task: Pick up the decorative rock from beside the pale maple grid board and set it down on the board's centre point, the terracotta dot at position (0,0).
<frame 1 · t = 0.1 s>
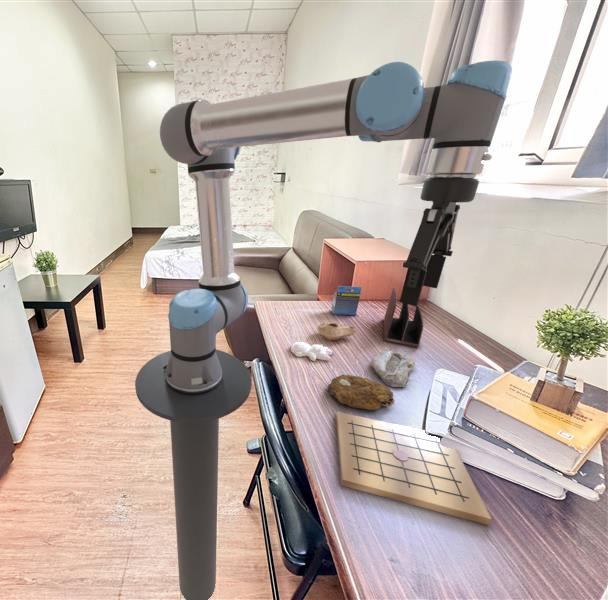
hand: (419, 294, 60), 31 cm above the table, tool pointing down, fingers open, 13 cm apart
astronaut figurine: (310, 353, 97), on the table
decorative rock: (359, 398, 78), on the table
fossil: (394, 371, 89), on the table
pottery oil lamp: (335, 338, 106), on the table
letter holder: (399, 332, 111), on the table
grid board: (398, 461, 61), on the table
label tape box: (343, 313, 125), on the table
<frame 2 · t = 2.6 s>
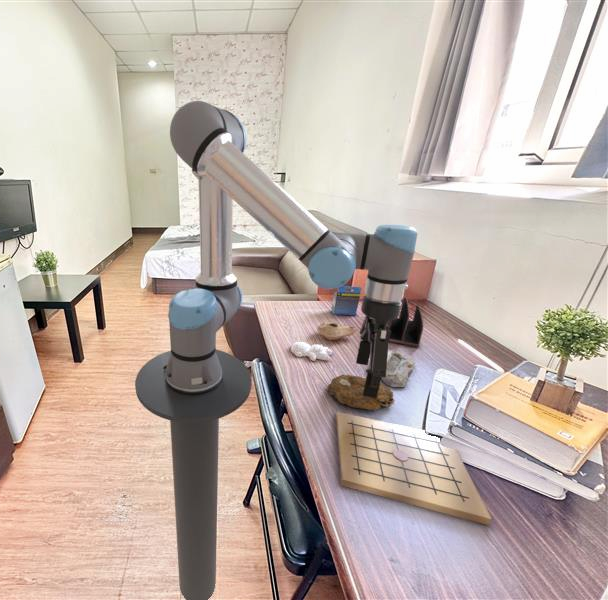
hand: (365, 378, 75), 6 cm above the table, tool pointing down, fingers open, 13 cm apart
nothing on the table moved.
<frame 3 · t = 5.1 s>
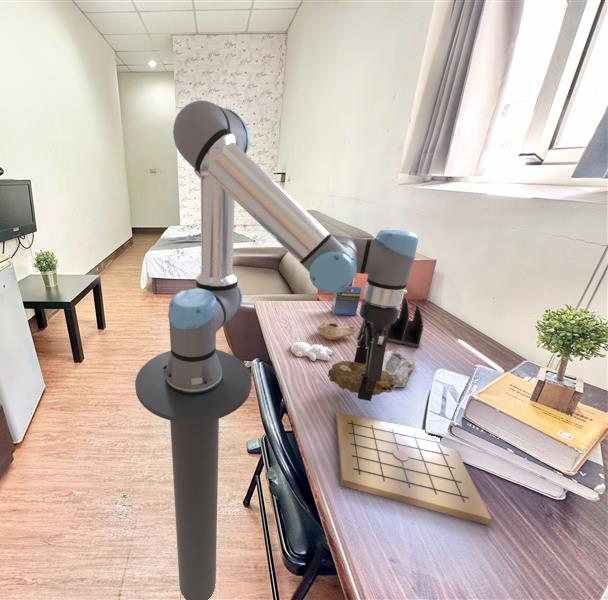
hand: (360, 383, 76), 4 cm above the table, tool pointing down, fingers closed on decorative rock, 11 cm apart
decorative rock: (359, 384, 77), point 4 cm above the table, touching gripper
everything else where it was.
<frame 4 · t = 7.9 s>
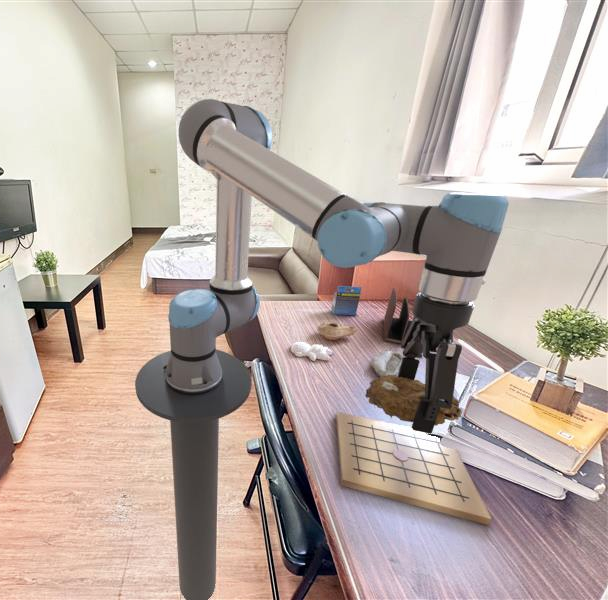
hand: (411, 406, 57), 12 cm above the table, tool pointing down, fingers closed on decorative rock, 11 cm apart
decorative rock: (409, 407, 57), point 12 cm above the table, touching gripper
everything else where it was.
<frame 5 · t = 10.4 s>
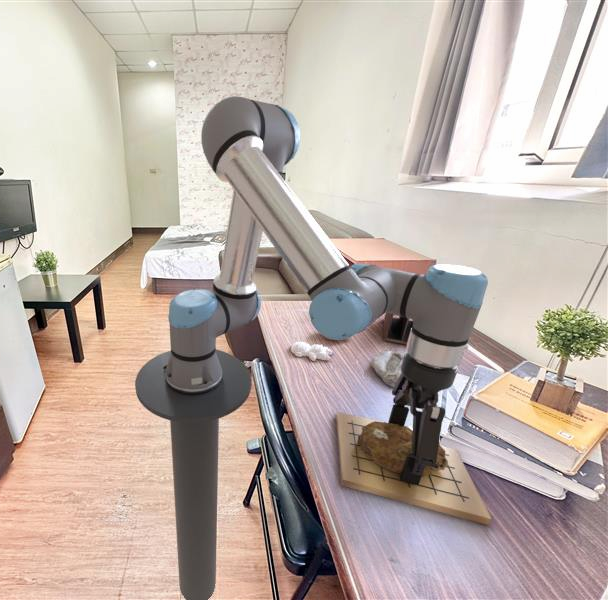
hand: (400, 454, 60), 2 cm above the table, tool pointing down, fingers closed on decorative rock, 11 cm apart
decorative rock: (399, 455, 60), point 1 cm above the table, touching grid board, gripper
everything else where it was.
when the fingers open (2 cm above the table, at t = 10.8 s): decorative rock stays where it is, resting on grid board.
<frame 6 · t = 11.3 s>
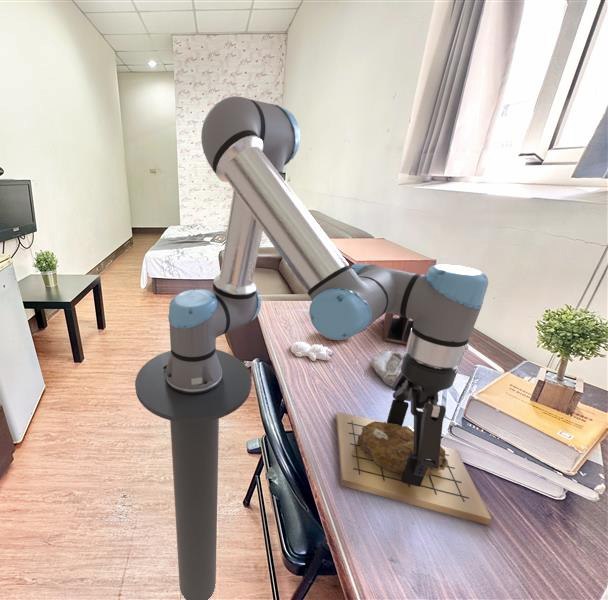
hand: (401, 452, 60), 2 cm above the table, tool pointing down, fingers open, 13 cm apart
decorative rock: (399, 455, 60), point 1 cm above the table, touching grid board
everything else where it was.
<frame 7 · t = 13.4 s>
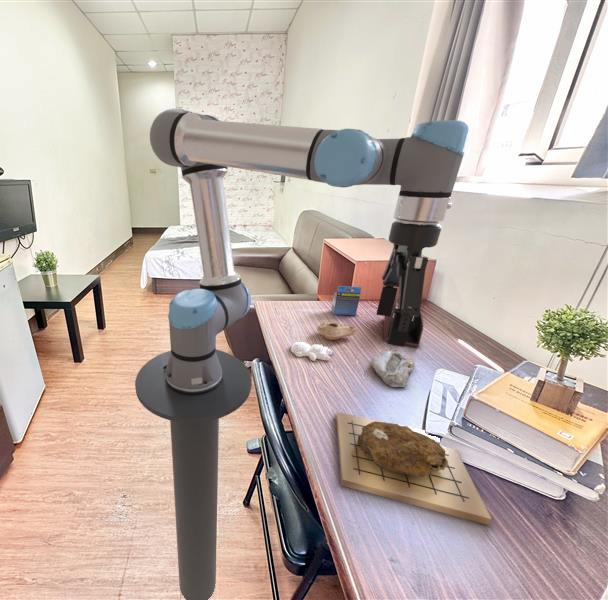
hand: (388, 328, 63), 23 cm above the table, tool pointing down, fingers open, 13 cm apart
nothing on the table moved.
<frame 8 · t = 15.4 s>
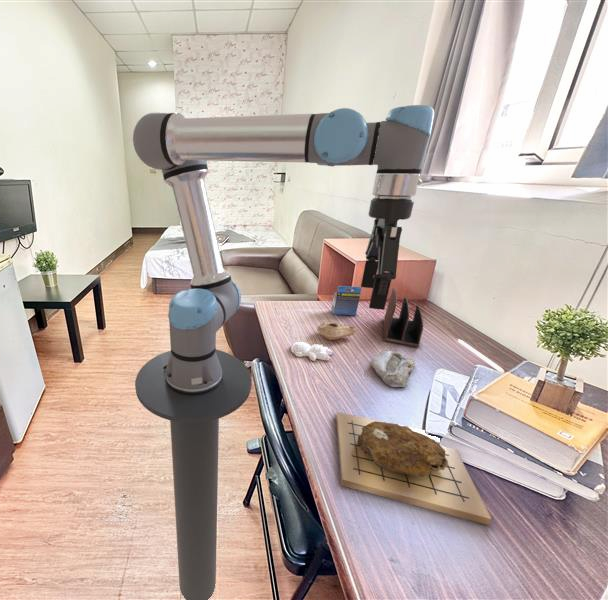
hand: (371, 297, 69), 27 cm above the table, tool pointing down, fingers open, 13 cm apart
nothing on the table moved.
at the end: decorative rock inside the target area on the grid board (0.1 cm from its centre), point 1.4 cm above the grid board's base; the gripper is holding nothing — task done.
